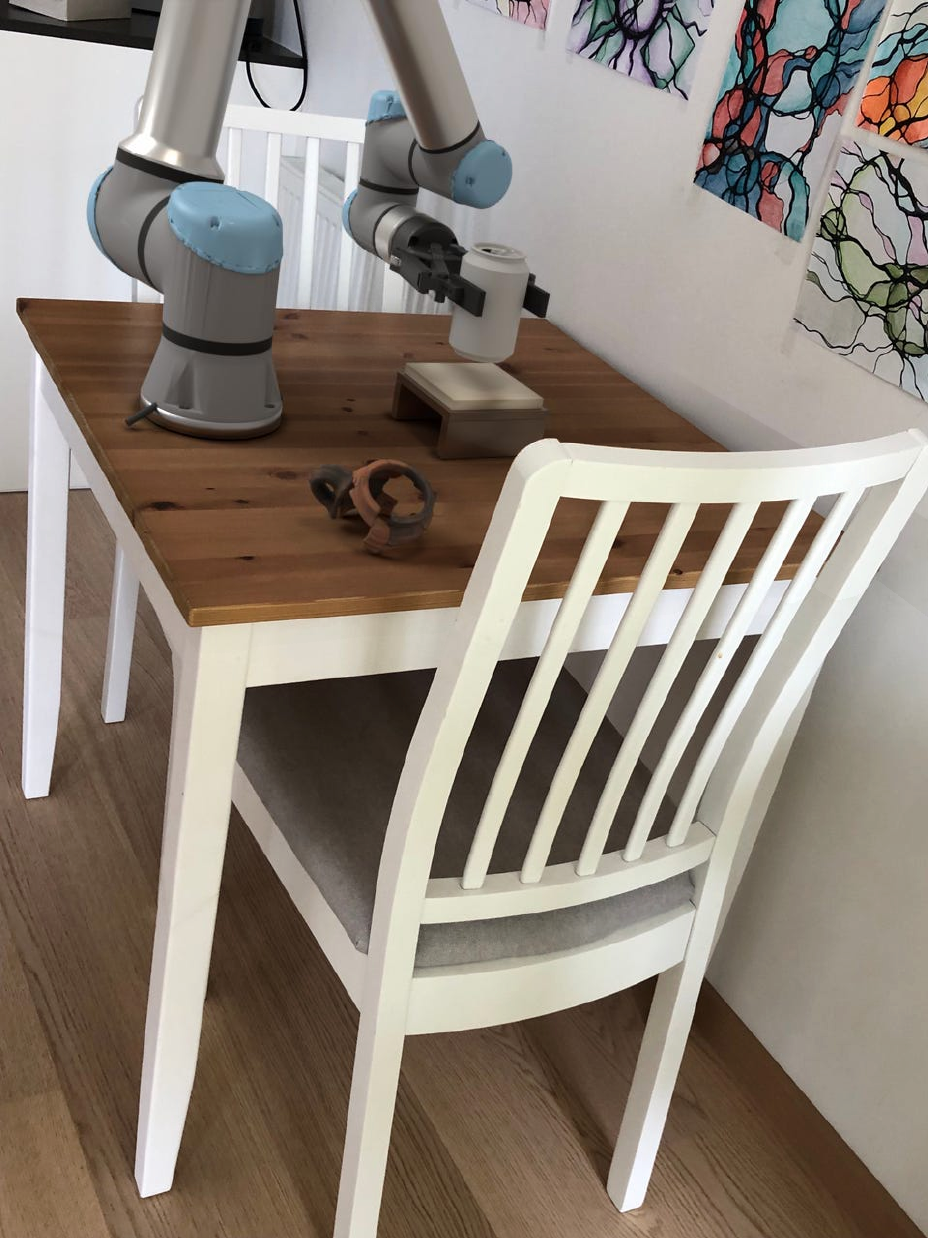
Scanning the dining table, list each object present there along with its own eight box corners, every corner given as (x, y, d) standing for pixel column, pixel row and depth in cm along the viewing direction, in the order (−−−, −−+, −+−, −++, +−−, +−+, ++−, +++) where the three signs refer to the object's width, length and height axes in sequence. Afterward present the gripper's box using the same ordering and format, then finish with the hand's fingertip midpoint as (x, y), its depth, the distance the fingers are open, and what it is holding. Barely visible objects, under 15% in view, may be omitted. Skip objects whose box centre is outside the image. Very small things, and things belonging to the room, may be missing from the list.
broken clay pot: (418, 518, 123) (450, 469, 117) (401, 593, 118) (434, 546, 111) (304, 473, 120) (331, 421, 114) (282, 548, 115) (309, 497, 108)
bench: (441, 459, 137) (451, 402, 134) (390, 415, 146) (398, 360, 143) (539, 455, 143) (551, 400, 140) (484, 413, 153) (494, 360, 149)
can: (453, 338, 144) (471, 233, 138) (516, 352, 143) (536, 248, 137) (441, 355, 137) (459, 246, 131) (507, 370, 136) (528, 261, 131)
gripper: (484, 279, 156) (583, 339, 140) (337, 274, 146) (425, 338, 130) (495, 219, 153) (597, 273, 136) (345, 209, 143) (436, 267, 126)
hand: (513, 305), depth 133 cm, fingers closed on can, 7 cm apart
